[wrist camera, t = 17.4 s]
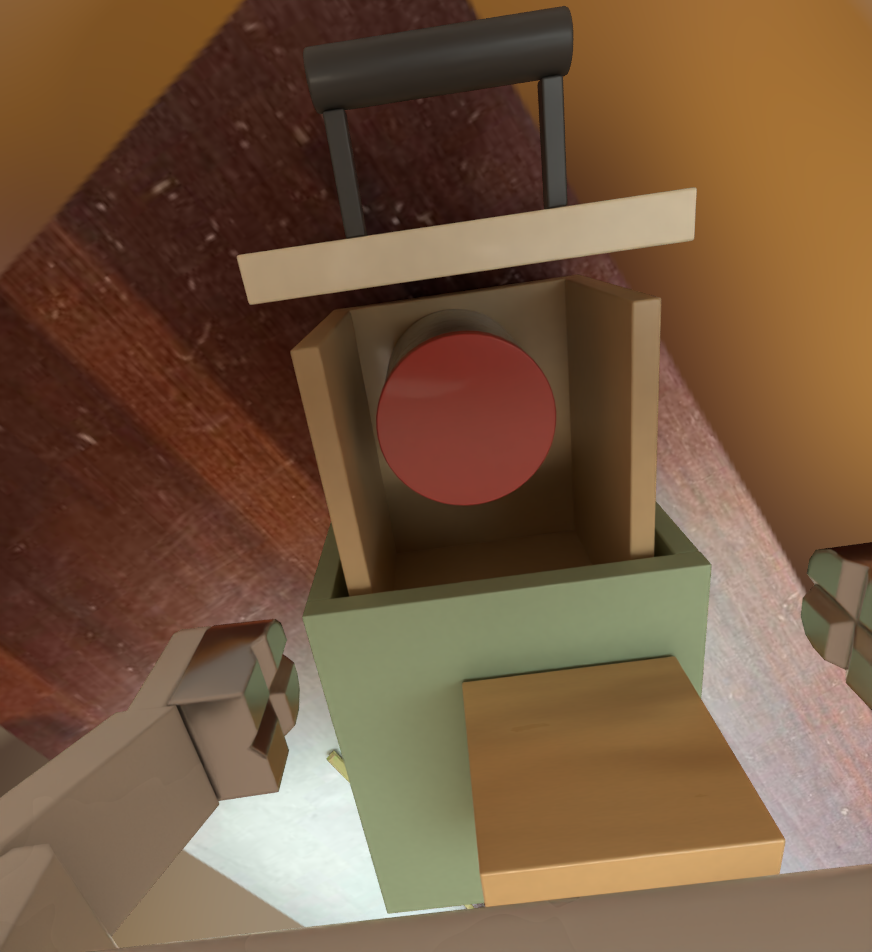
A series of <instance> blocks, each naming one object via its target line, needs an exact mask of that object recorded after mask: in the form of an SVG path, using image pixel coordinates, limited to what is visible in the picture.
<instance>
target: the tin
mask: <svg viewBox="0 0 872 952" xmlns="http://www.w3.org/2000/svg"><path fill="white" fill-rule="evenodd" d="M555 428H556V405H555V399H554V395H553V392H552V389H551V386H550V384H549V382H548V379H547V378H546V376H545V374H544V373H543V371H542V370H541V368H540V367H539V366H538V365H537V363H536V362H535V361H534V360H533V359H532V358H531V356H529V355H528V354H527V353H526V352H525V351H524V350H523V349H522V348H521V347H520V346H519V345H518V344H517V343H516V341H515V340H514V339H513V338H512V337H511V336H510V334H509V333H508V332H507V331H506V330H505V329H504V328H503V327H502V326H501V325H500V324H499V323H497V322H496V321H494V320H493V319H491V318H490V317H488V316H486V315H484V314H481V313H478V312H475V311H471V310H466V309H448V310H442V311H438V312H435V313H432V314H429V315H427V316H425V317H423V318H422V319H420V320H418V321H417V322H416V323H414V324H413V325H412V326H411V327H410V328H408V329H407V330H406V331H405V333H404V334H403V335H402V336H401V338H400V339H399V340H398V342H397V344H396V345H395V347H394V350H393V352H392V354H391V358H390V361H389V365H388V369H387V374H386V378H385V382H384V386H383V388H382V391H381V394H380V398H379V402H378V407H377V414H376V430H377V438H378V442H379V445H380V449H381V451H382V453H383V456H384V458H385V460H386V462H387V463H388V465H389V467H390V468H391V470H392V471H393V472H394V473H395V475H396V476H397V477H398V478H399V479H400V480H401V481H402V482H403V483H404V484H405V485H406V486H408V487H409V488H410V489H412V490H413V491H415V492H417V493H418V494H420V495H422V496H424V497H426V498H428V499H431V500H433V501H437V502H440V503H444V504H450V505H464V506H467V505H478V504H483V503H487V502H491V501H494V500H497V499H499V498H502V497H504V496H506V495H508V494H510V493H511V492H513V491H515V490H516V489H518V488H519V487H520V486H522V485H523V484H524V483H525V482H527V481H528V480H529V479H530V478H531V477H532V476H533V475H534V474H535V472H536V471H537V470H538V468H539V467H540V466H541V465H542V463H543V461H544V460H545V458H546V456H547V454H548V452H549V450H550V447H551V445H552V442H553V438H554V434H555Z"/></svg>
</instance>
